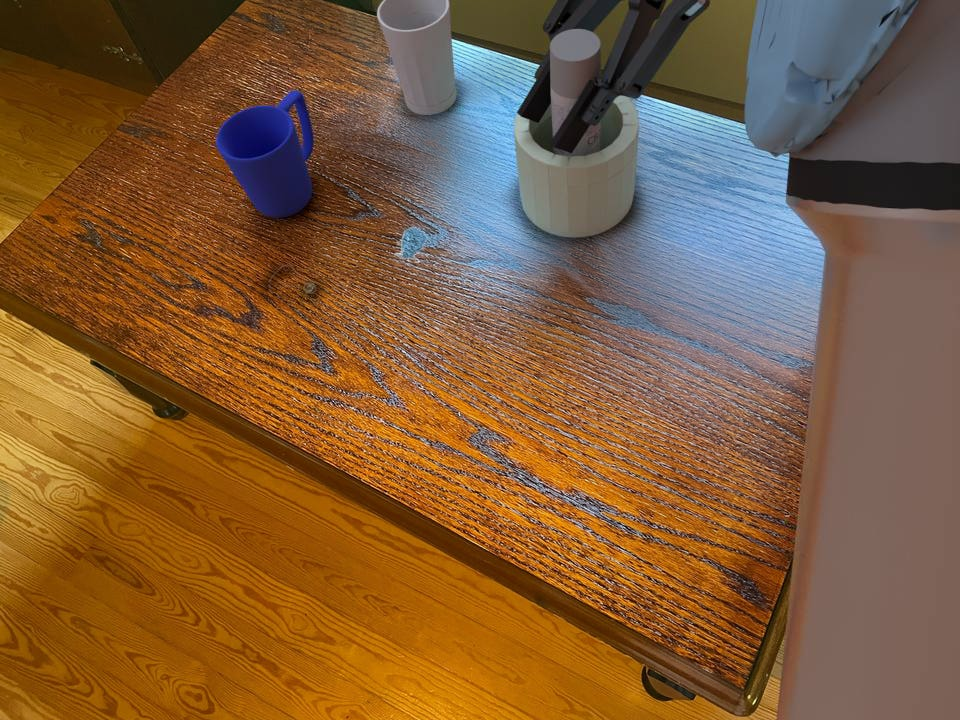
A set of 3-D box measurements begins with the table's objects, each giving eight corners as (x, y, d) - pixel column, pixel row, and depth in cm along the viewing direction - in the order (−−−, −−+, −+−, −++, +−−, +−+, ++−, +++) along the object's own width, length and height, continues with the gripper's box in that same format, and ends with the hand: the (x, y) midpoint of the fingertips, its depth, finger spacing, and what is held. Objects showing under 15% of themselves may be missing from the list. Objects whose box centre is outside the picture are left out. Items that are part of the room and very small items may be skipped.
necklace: (314, 295, 81) (311, 290, 80) (265, 292, 82) (262, 287, 81) (322, 270, 83) (320, 265, 82) (274, 267, 84) (272, 262, 83)
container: (595, 188, 80) (596, 64, 67) (550, 183, 81) (543, 60, 68) (603, 155, 82) (606, 29, 69) (559, 151, 83) (554, 26, 70)
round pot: (654, 181, 84) (662, 107, 76) (592, 255, 80) (593, 185, 72) (562, 140, 89) (560, 67, 81) (499, 208, 85) (489, 137, 76)
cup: (457, 120, 93) (441, 31, 83) (392, 119, 94) (369, 31, 84) (468, 75, 97) (455, -15, 87) (406, 74, 98) (385, -14, 88)
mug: (350, 159, 91) (326, 89, 83) (296, 235, 86) (265, 168, 78) (292, 144, 94) (263, 75, 86) (236, 216, 89) (199, 150, 80)
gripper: (797, -51, 62) (624, 192, 73) (651, -133, 71) (516, 95, 82) (758, -91, 57) (577, 178, 67) (606, -175, 66) (467, 75, 76)
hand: (544, 132), depth 75 cm, fingers closed on container, 5 cm apart
